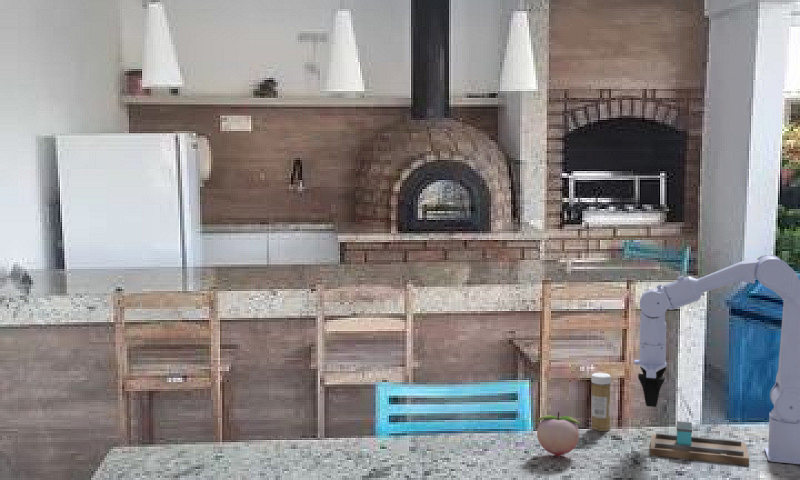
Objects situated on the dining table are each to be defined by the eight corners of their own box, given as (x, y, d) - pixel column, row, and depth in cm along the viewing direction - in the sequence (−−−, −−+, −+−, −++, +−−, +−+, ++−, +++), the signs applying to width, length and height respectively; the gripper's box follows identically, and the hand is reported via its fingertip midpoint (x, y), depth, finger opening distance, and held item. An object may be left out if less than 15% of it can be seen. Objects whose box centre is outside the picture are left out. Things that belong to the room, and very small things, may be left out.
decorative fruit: (539, 463, 170) (540, 418, 169) (534, 450, 178) (534, 407, 178) (583, 463, 170) (584, 418, 169) (576, 450, 178) (576, 406, 177)
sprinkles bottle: (613, 428, 192) (614, 374, 191) (603, 433, 189) (604, 378, 188) (597, 424, 196) (598, 371, 195) (587, 428, 193) (587, 374, 191)
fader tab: (691, 439, 179) (691, 422, 178) (691, 447, 174) (692, 429, 173) (676, 438, 180) (676, 421, 179) (676, 446, 175) (676, 428, 174)
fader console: (745, 449, 177) (745, 439, 177) (749, 465, 168) (749, 454, 168) (651, 440, 184) (651, 430, 184) (650, 455, 174) (650, 444, 174)
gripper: (636, 335, 187) (635, 391, 188) (632, 348, 173) (631, 408, 175) (667, 336, 185) (666, 393, 186) (666, 350, 171) (665, 411, 172)
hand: (651, 401), depth 180 cm, fingers open, 7 cm apart
